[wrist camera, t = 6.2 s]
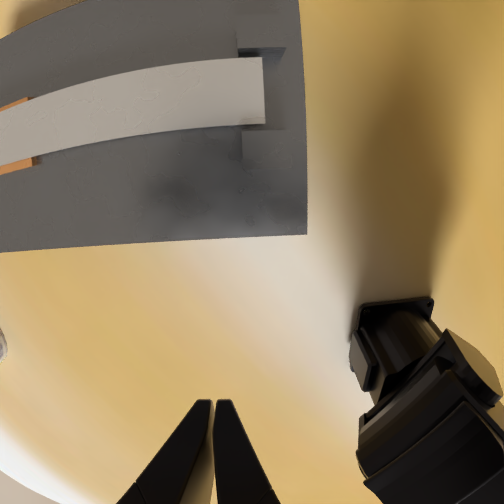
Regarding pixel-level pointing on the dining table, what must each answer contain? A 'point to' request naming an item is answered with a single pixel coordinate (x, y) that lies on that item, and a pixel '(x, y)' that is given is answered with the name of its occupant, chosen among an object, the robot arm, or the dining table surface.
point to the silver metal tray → (162, 143)
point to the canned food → (2, 347)
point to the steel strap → (136, 106)
